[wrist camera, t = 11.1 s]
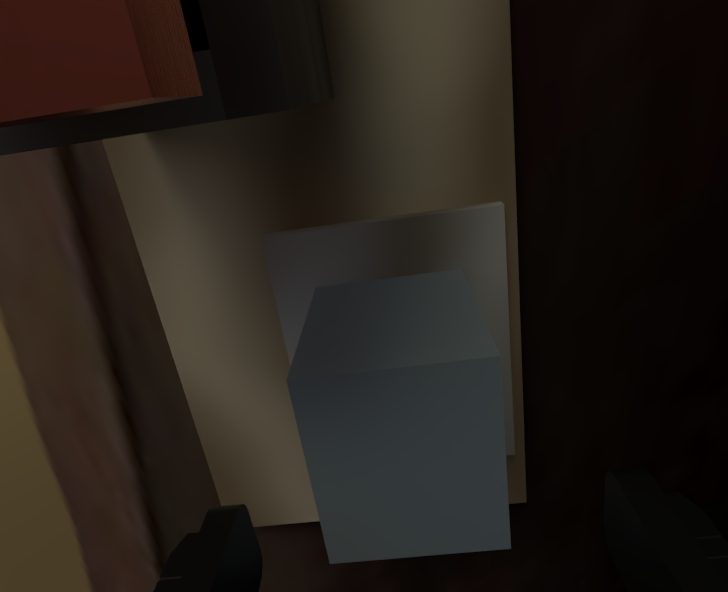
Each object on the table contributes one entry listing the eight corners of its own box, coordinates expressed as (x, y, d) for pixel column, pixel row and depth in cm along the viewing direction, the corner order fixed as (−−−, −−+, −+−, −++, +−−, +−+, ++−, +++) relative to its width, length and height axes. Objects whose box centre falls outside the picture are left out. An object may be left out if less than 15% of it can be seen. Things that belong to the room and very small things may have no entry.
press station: (487, -256, 14) (716, -982, 4) (517, 477, 23) (611, 741, 14) (31, -161, 15) (-563, -584, 5) (237, 503, 24) (149, 765, 15)
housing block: (461, 268, 17) (500, 355, 12) (473, 416, 19) (510, 548, 14) (315, 287, 18) (286, 380, 12) (343, 430, 20) (330, 563, 14)
